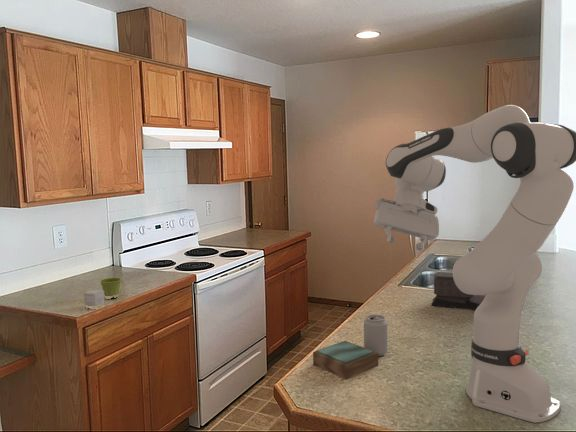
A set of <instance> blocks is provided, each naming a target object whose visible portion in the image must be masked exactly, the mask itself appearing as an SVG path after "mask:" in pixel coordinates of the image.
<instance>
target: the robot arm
mask: <svg viewBox="0 0 576 432" xmlns="http://www.w3.org/2000/svg"><path fill="white" fill-rule="evenodd" d="M434 156H441V157H442V156H443V157H450V158H452V159H458V160H461V161H464V162H469V163H473V164H475V163H482V162H486V161H490V160H492V159H493V160H494V161H495V163H496V164H497V165H498V166H499V167H500V168H501V169H503V170H504V171H505V172H506V174H507V175H508V176H509V177H511V178H512V179H519V180H520V184H519V187H518V189H517V190H516V192H515V194H514V195H513V197H512V199H511V201H510V202H509V204H508V206H507V208H506V209H505V211H504V213H503V214H502V215H501V217H500V219H499V220H498V222H497V224H495V226H494V227H493V228H492V230H490V232H489V233H488V234H487V235H486V236H485V237H484V238H483V239H482V240H481V241H480V242H479V243H478V244H477V245H476V246H475V247H473V248H474V249H473V248H472V249H471V250H470V251H469V252H467V253H465V254H464V255H463V256H460V257H458V259H456V261H454V265H453V267H452V273H453V279H454V282H455V284H456V286H457V287H458V289H459V290H460V291H462V292H463V293H465V294H470V295H486V296H485V298H484V300H483V301H482V303H481V304H480V305H479V306H478V307H477V309H476V310H475V311H473V313H474V314H473V335H472V336H473V337H472V340H471V349H470V350H471V351H470V354H471V359H472V360H471V368H470V373H469V379H468V382H467V385H466V388H465V392H466V394H467V396H468V397H469V398H470V399H471V404H472V405H473V406H476V407H479V408H482V409H485V410H489V411H492V412H496V413H499V414H503V415H506V416H509V417H513V418H516V419H519V420H523V421H526V422H531V423H543V422H546V421H549V420H552V419H553V418H554V417H556V416H557V415H558V414H559V413H560V411H561V402H560V400H558V399H556V398H554V397H552V395H551V389H550V384H549V383H548V381H547V379H545V377H543V376H542V375H541V374H540V373H539V372H538V371H536V369H535V368H534V367H533V366H531V364H529V363H528V361H527V360H526V357H527V356H528V355H529V349H526V350H525V351H524V350H523V349H522V346H521V344H520V329H521V328H520V327H521V326H520V325H521V316H522V313H523V309H524V306H525V303H526V300H527V297H528V295H529V293H530V290H531V289H532V288H533V286H534V284H535V283H536V282H537V281H538V280H539V278H540V277H541V275H542V271H543V268H542V267H543V266H542V261H541V259H540V256H538V255H537V253H536V252H538V250H540V249H541V248H542V247H543V245H544V243H545V242H546V241H547V239H548V237H549V236H550V234H551V232H552V231H553V230H554V228H555V226H556V225H557V223H558V222H559V220H560V219H561V218H562V215H563V214H564V213H565V211H566V208H567V206H568V203H569V201H570V199H571V197H572V195H573V191H574V181H573V179H572V177H571V176H570V175H569V174H568V173H567V172H566V171H564V170H563V169H566V168H567V167H568V168H569V167H570V166H571V165H573V164H574V163H575V162H576V130H574V129H572V128H570V127H568V126H566V125H561V124H555V123H554V124H553V123H545V122H531V121H530V118H529V116H528V114H527V113H526V111H525V110H524V109H523V108H521V107H520V106H518V105H515V104H507V105H503V106H499V107H498V108H495V109H493V110H491V111H490V110H489V111H488V112H486V113H484V114H482V115H480V116H479V117H477V118H476V119H474V120H471V121H469V122H466V123H464V124H460V125H455V126H451V127H444V128H440V129H437V130H434V131H433V132H430V133H428V134H425V135H423V136H422V137H419V138H417V139H414V140H413V141H411V142H407V143H401V144H399V145H396V146H394V147H393V148H391V150H390V151H389V153H388V154H387V156H386V158H385V167H386V170H387V172H388V174H389V175H390V177H392V178H395V180H394V181H395V182H394V186H395V192H394V194H393V200H389V199H386V198H383V197H381V198H378V199H377V200H376V201H375V209H376V211H375V213H374V219H373V224H374V225H375V227H378V228H382V229H384V234H385V235H386V237H387V238H386V242H387V243H390V244H392V243H394V241H395V235H392V232H391V231H394V232H397V233H401V234H403V235H409V236H412V237H416V238H419V241H420V242H418V243H416V244H415V250H418V251H422V250H423V249H424V244H425V243H426V242H427V241H433V240H436V238H438V236H439V235H440V234H439V233H440V225H439V224H440V222H439V218H438V216H437V215H436V214H437V213H438V208H437V207H436V206H435V205H434V204H432V203H431V202H429V201H427V200H426V199H424V197H423V196H424V195H423V194H424V192H430V191H432V190H434V189H437V188H438V187H441V186H442V185H443V183H444V182H445V179H446V175H447V173H446V172H447V169H446V167H447V166H446V165H445V162H444V161H443V160H441V159H440V158H436V157H434Z"/></svg>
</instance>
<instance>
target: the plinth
mask: <svg viewBox="0 0 576 432" xmlns="http://www.w3.org/2000/svg"><path fill="white" fill-rule="evenodd" d="M312 357H313V358H312V359H313V361H312V362H313V363H312V364H313V366H316V367H318V368H319V369H320V368H321V369H323V370H324V371H327V372H330V373H331V374H333V375H336V376H338V377H340V378H343V379H345V380H347V379H350V378H352V377H354V376H357V375H359V374H361V373H365V372H367V371H368V370H370V369H373V368H375V367H378V366H379V356H378V353H377V352H375V351H372V350H369V349H366V348H364V346H360V345H359V344H358V345H357V344H355V343H352V342H350V341H347V340H343V341H341V342H340V341H339V342H338V343H335V344H332V345H328V346H326V347H324V348H320V349H317V350H316V351H313V352H312Z"/></svg>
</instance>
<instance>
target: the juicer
mask: <svg viewBox="0 0 576 432" xmlns="http://www.w3.org/2000/svg"><path fill="white" fill-rule="evenodd" d="M474 248H475V247H472V249H474ZM433 293H434V295H435V296H434V297H433V298H432V301H433V302H431V305H430V306H434V307H433V308H443V307H444V309H446V308H447V309H456V310H457V309H458V310H470V311H473V312H475V310H476V309H477V307H478V306H479V305H480V304H481V303H482V301H483V300H484V298H485V296H486V295H470V294H465V293H463V292H462V291H460V290H459V289H458V287H457V286H456V284H455V282H454V279H453V272H443V271H442V272H440V271H438V272H437V273H436V275H435V276H434V278H433Z"/></svg>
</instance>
